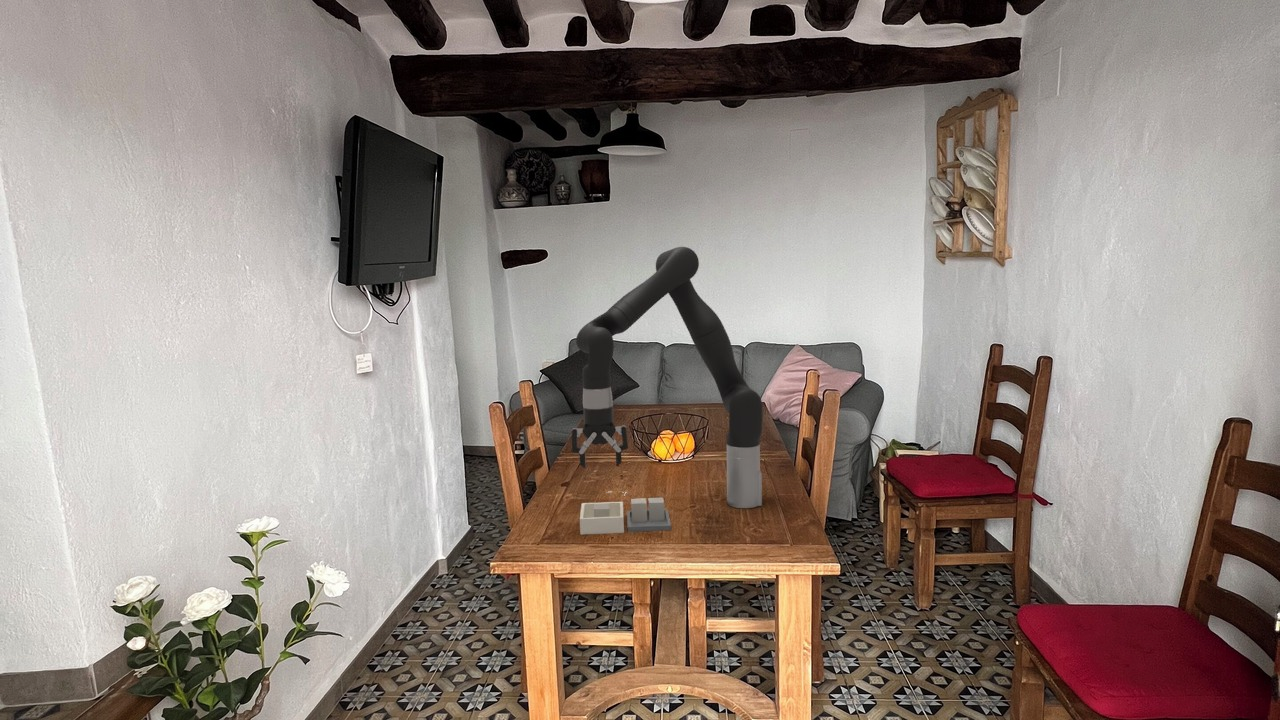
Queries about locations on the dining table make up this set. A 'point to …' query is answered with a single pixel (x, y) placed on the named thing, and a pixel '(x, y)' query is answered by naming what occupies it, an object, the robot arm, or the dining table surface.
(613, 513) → the cream dish
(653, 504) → the stone
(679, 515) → the dining table surface
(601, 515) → the stone
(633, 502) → the stone
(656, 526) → the slate tray
